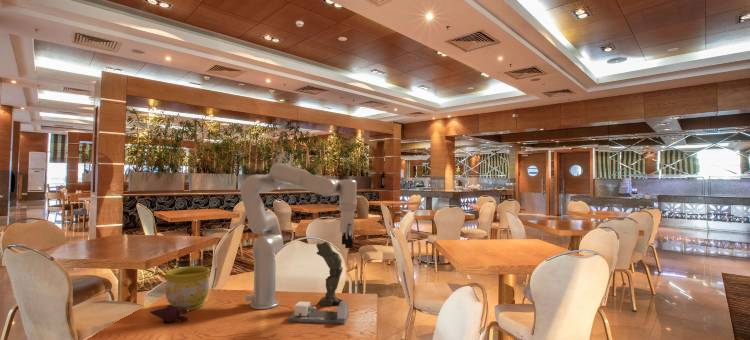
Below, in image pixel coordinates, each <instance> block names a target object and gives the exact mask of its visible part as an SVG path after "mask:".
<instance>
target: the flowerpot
mask: <svg viewBox="0 0 750 340" xmlns="http://www.w3.org/2000/svg"><path fill="white" fill-rule="evenodd" d="M210 271H211V268H210V267H206V266H199V265H198V266H195V265H194V266H183V267H176V268H172V269H169V270H167V271H166V272H165V276H166V279H165V280H166V282H165V290H164V291H165V292H164V293H165V299H166V300H167V303H168V304H169V305H171V306H172V305H173V306H175V307H177V308H178V309H183V308H186V309H187V310H192V311H194V310H193V309H196V310H198V309H197V308H199V309H201V308H202V307H203V306H204V304H206V302H205V300H206V299H207V296H208V295H209V291H210V280H209V279H210V278H209V277H210V274H209V273H210ZM200 307H201V308H200Z"/></svg>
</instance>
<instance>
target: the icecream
mask: <svg viewBox="0 0 750 340" xmlns="http://www.w3.org/2000/svg"><path fill="white" fill-rule="evenodd" d="M149 313H150V314H151V315H153V316H156V317H157V318H159V319H161V320H162V321H163V323H164V322H166V323H173V322H172V321H174V322H176V321H179V320H181V321H180V322H182V321H186V320H187V321H188V317H186V316H184V315H186V314H187V313H188V311H187V309H186V308H183V309H178V308H177V307H175V306H173V305H172V306H171V304H169V305H167V306H166V307H163V308H160V309H159V308H158V309H155V310H151V311H150V312H149ZM187 321H186V322H187Z"/></svg>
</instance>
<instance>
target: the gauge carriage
mask: <svg viewBox="0 0 750 340" xmlns="http://www.w3.org/2000/svg"><path fill="white" fill-rule="evenodd" d="M311 303H312V302H311V301H298V302H297V303H296V304H295V305H294V311H295V316H307V315H308V314H309V313H310V312H316V311H317V306H311V305H312V304H311Z"/></svg>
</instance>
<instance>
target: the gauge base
mask: <svg viewBox="0 0 750 340" xmlns="http://www.w3.org/2000/svg"><path fill="white" fill-rule="evenodd" d="M349 312H350V311H349V300H343V301H341V302H340V304H339V305H338V306H337V311H335V310H334V311H332V310H331V311H330V310H329V311H327V310H316V312H310V313H309V314H308V315H307V316H295V310H293V312H292V313H291V315H290V316H288V318H287V319H288V320H287V321H288V323H306V324H309V323H310V324H328V325H345V324H346V322H347V320H348V317H349V315H350V314H349Z"/></svg>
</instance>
